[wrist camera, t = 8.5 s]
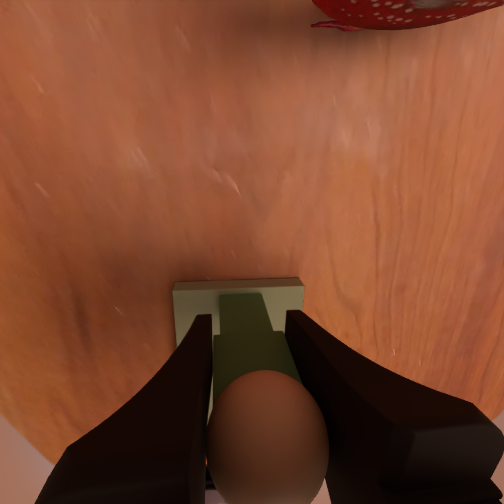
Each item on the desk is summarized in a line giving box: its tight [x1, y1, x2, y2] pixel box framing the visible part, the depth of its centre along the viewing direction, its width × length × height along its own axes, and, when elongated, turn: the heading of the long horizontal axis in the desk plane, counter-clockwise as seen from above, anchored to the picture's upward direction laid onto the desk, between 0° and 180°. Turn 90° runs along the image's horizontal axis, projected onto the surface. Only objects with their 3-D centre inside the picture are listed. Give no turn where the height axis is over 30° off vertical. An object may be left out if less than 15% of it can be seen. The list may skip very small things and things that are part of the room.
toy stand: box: [172, 278, 305, 425], centre depth 18 cm, size 12×8×1 cm, turn 179°
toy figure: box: [205, 294, 329, 504], centre depth 11 cm, size 10×4×4 cm
